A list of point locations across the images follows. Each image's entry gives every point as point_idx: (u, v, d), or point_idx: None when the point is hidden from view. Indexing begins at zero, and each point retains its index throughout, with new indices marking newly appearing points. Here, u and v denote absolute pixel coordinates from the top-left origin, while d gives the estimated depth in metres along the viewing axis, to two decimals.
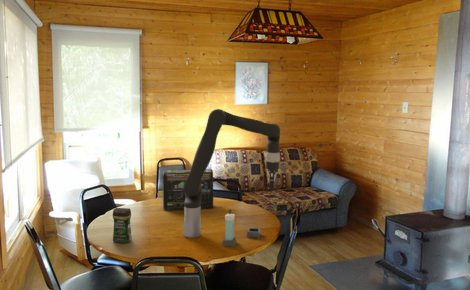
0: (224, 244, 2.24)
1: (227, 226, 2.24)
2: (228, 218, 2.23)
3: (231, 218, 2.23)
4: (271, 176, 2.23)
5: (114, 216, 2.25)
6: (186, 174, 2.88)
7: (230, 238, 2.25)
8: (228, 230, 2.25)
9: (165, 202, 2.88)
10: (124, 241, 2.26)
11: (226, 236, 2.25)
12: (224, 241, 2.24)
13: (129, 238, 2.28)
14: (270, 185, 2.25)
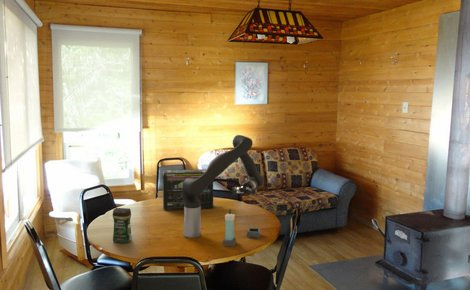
0: (224, 244, 2.24)
1: (227, 226, 2.24)
2: (228, 218, 2.23)
3: (231, 218, 2.23)
4: (256, 190, 2.47)
5: (114, 216, 2.25)
6: (186, 174, 2.88)
7: (230, 238, 2.25)
8: (228, 230, 2.25)
9: (165, 202, 2.88)
10: (124, 241, 2.26)
11: (226, 236, 2.25)
12: (224, 241, 2.24)
13: (129, 238, 2.28)
14: (251, 191, 2.43)
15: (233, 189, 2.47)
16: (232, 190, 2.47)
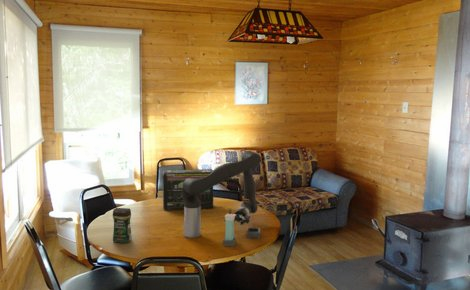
0: (224, 244, 2.24)
1: (227, 226, 2.24)
2: (228, 218, 2.23)
3: (231, 218, 2.23)
4: (249, 218, 2.39)
5: (114, 216, 2.25)
6: (186, 174, 2.88)
7: (230, 238, 2.25)
8: (228, 230, 2.25)
9: (165, 202, 2.88)
10: (124, 241, 2.26)
11: (226, 236, 2.25)
12: (224, 241, 2.24)
13: (129, 238, 2.28)
14: (244, 220, 2.34)
15: None
16: None
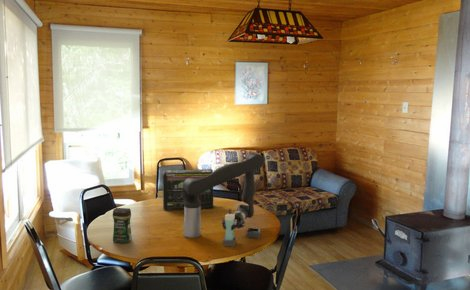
0: (224, 244, 2.24)
1: (227, 226, 2.24)
2: (228, 218, 2.23)
3: (231, 218, 2.23)
4: (243, 224, 2.29)
5: (114, 216, 2.25)
6: (186, 174, 2.88)
7: (230, 238, 2.25)
8: (228, 230, 2.25)
9: (165, 202, 2.88)
10: (124, 241, 2.26)
11: (226, 236, 2.25)
12: (224, 241, 2.24)
13: (129, 238, 2.28)
14: (235, 225, 2.25)
15: (224, 223, 2.29)
16: (223, 224, 2.29)
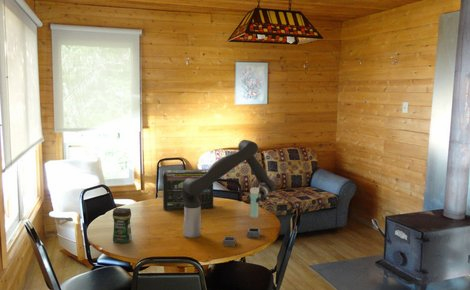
0: (224, 244, 2.24)
1: (252, 199, 2.36)
2: (253, 191, 2.35)
3: (256, 191, 2.35)
4: (267, 197, 2.41)
5: (114, 216, 2.25)
6: (186, 174, 2.88)
7: (255, 210, 2.37)
8: (253, 202, 2.36)
9: (165, 202, 2.88)
10: (124, 241, 2.26)
11: (251, 208, 2.37)
12: (224, 241, 2.24)
13: (129, 238, 2.28)
14: (259, 198, 2.37)
15: (249, 196, 2.40)
16: (247, 197, 2.40)
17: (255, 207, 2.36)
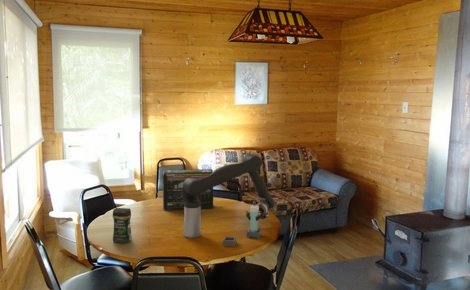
0: (224, 244, 2.24)
1: (252, 217, 2.38)
2: (253, 209, 2.37)
3: (256, 209, 2.36)
4: (266, 215, 2.42)
5: (114, 216, 2.25)
6: (186, 174, 2.88)
7: (255, 228, 2.38)
8: (253, 220, 2.38)
9: (165, 202, 2.88)
10: (124, 241, 2.26)
11: (251, 226, 2.38)
12: (224, 241, 2.24)
13: (129, 238, 2.28)
14: (259, 216, 2.39)
15: (248, 214, 2.42)
16: (247, 215, 2.42)
17: (255, 225, 2.38)
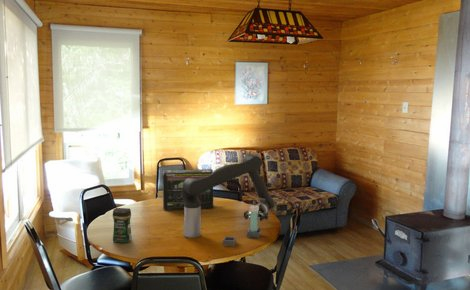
0: (224, 244, 2.24)
1: (252, 217, 2.38)
2: (253, 209, 2.37)
3: (256, 209, 2.36)
4: (268, 215, 2.43)
5: (114, 216, 2.25)
6: (186, 174, 2.88)
7: (255, 228, 2.38)
8: (253, 220, 2.38)
9: (165, 202, 2.88)
10: (124, 241, 2.26)
11: (251, 226, 2.38)
12: (224, 241, 2.24)
13: (129, 238, 2.28)
14: (263, 216, 2.39)
15: (245, 214, 2.43)
16: (244, 215, 2.43)
17: (255, 225, 2.38)
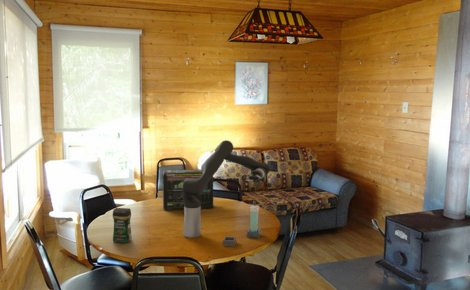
0: (224, 244, 2.24)
1: (252, 217, 2.38)
2: (253, 209, 2.37)
3: (256, 209, 2.36)
4: (265, 178, 2.54)
5: (114, 216, 2.25)
6: (186, 174, 2.88)
7: (255, 228, 2.38)
8: (253, 220, 2.38)
9: (165, 202, 2.88)
10: (124, 241, 2.26)
11: (251, 226, 2.38)
12: (224, 241, 2.24)
13: (129, 238, 2.28)
14: (260, 179, 2.49)
15: (243, 177, 2.54)
16: (242, 178, 2.54)
17: (255, 225, 2.38)
